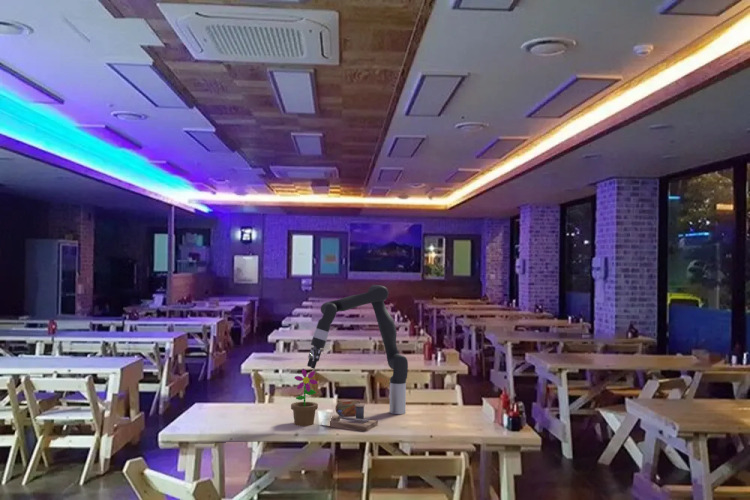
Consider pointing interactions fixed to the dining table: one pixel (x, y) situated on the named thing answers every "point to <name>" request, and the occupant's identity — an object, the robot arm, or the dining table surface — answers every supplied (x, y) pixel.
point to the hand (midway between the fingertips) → (310, 367)
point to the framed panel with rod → (352, 426)
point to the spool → (359, 411)
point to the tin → (346, 408)
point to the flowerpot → (304, 410)
